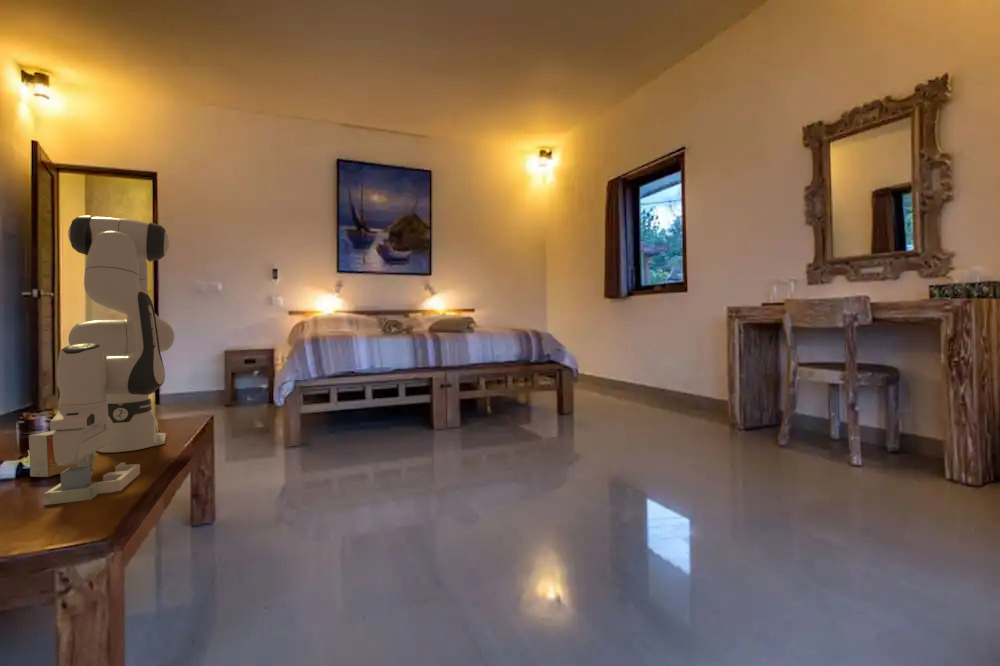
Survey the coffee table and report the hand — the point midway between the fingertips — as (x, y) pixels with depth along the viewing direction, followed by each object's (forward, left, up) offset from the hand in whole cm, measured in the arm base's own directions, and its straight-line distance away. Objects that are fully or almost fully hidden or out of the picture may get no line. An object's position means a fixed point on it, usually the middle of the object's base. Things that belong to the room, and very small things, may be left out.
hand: (86, 473), depth 118 cm
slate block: (+8, +1, -3) cm, 8 cm away
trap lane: (+1, +3, -3) cm, 4 cm away
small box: (-17, -12, -3) cm, 22 cm away
